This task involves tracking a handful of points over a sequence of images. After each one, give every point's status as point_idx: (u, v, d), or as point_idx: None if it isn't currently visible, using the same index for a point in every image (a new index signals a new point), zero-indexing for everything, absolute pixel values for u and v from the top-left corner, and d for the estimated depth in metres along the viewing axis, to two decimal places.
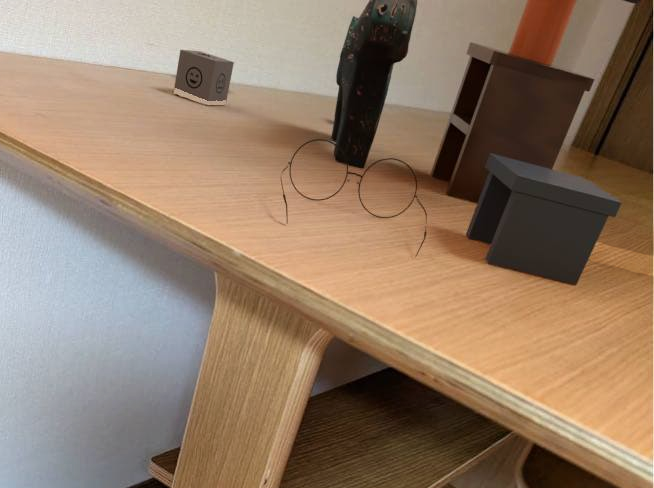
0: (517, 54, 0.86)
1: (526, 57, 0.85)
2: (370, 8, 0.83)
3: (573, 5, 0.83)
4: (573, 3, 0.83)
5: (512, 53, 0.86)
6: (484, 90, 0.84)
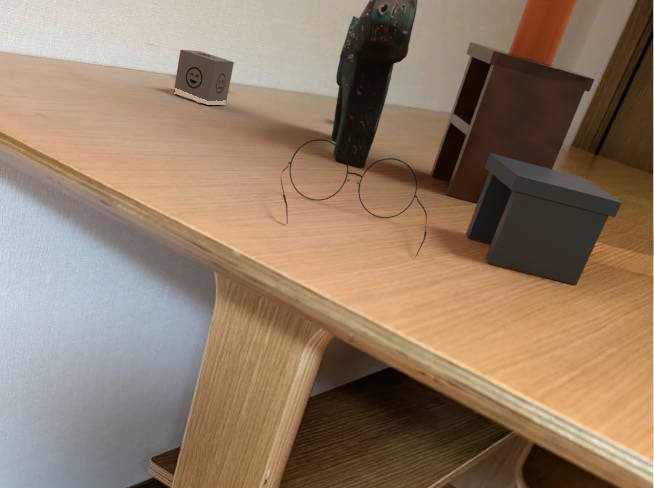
0: (517, 54, 0.86)
1: (526, 57, 0.85)
2: (370, 8, 0.83)
3: (573, 5, 0.83)
4: (573, 3, 0.83)
5: (512, 53, 0.86)
6: (484, 90, 0.84)
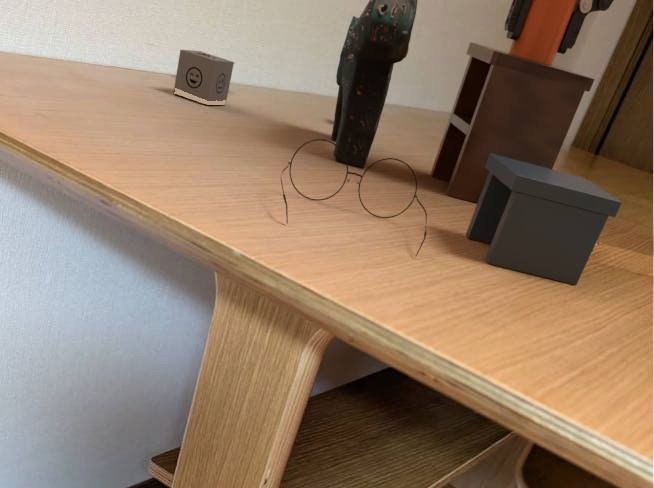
0: (517, 54, 0.86)
1: (526, 57, 0.85)
2: (370, 8, 0.83)
3: (573, 5, 0.83)
4: (573, 3, 0.83)
5: (512, 53, 0.86)
6: (484, 90, 0.84)
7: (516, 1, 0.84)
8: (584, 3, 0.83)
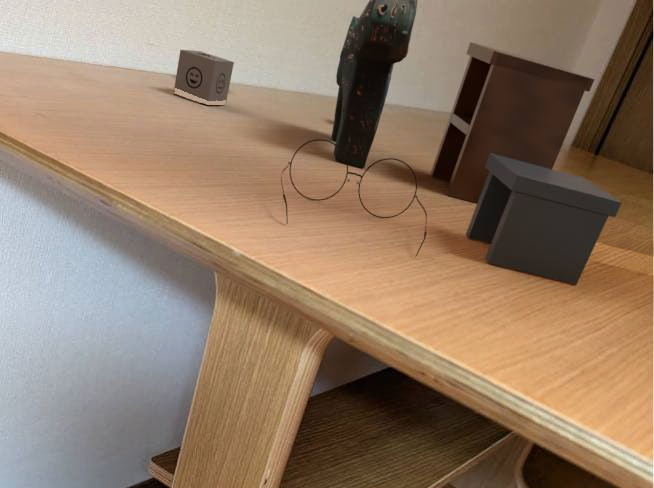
0: None
1: None
2: (370, 8, 0.83)
3: None
4: None
5: None
6: (484, 90, 0.84)
7: None
8: None
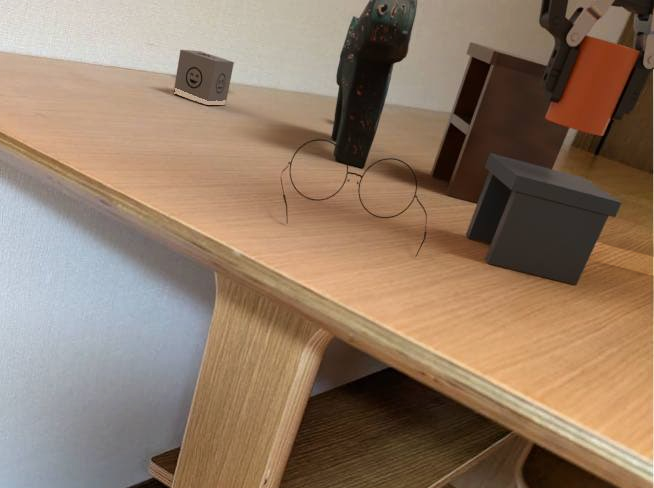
0: (558, 121, 0.64)
1: (570, 126, 0.64)
2: (370, 8, 0.83)
3: (635, 59, 0.62)
4: (635, 56, 0.62)
5: (551, 119, 0.65)
6: (484, 90, 0.84)
7: (558, 52, 0.63)
8: (649, 56, 0.62)
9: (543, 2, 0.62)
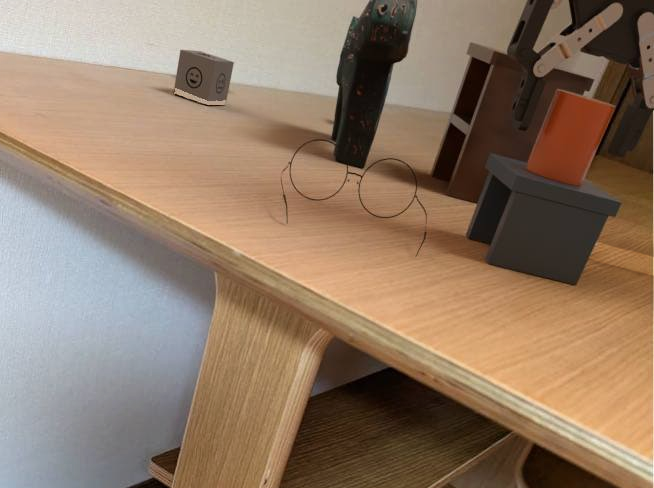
0: (537, 172, 0.67)
1: (549, 177, 0.66)
2: (370, 8, 0.83)
3: (611, 114, 0.64)
4: (611, 111, 0.64)
5: (531, 170, 0.67)
6: (484, 90, 0.84)
7: (525, 83, 0.64)
8: (651, 96, 0.64)
9: (515, 32, 0.63)
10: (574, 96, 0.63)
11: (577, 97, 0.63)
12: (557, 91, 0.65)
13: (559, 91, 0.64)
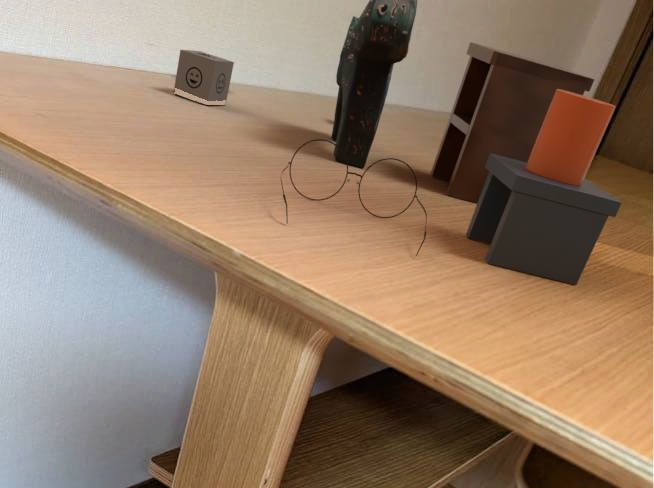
0: (537, 172, 0.67)
1: (549, 177, 0.66)
2: (370, 8, 0.83)
3: (611, 113, 0.64)
4: (611, 111, 0.64)
5: (531, 170, 0.67)
6: (484, 90, 0.84)
7: None
8: None
9: None
10: (574, 96, 0.63)
11: (577, 97, 0.63)
12: (557, 91, 0.65)
13: (559, 91, 0.64)
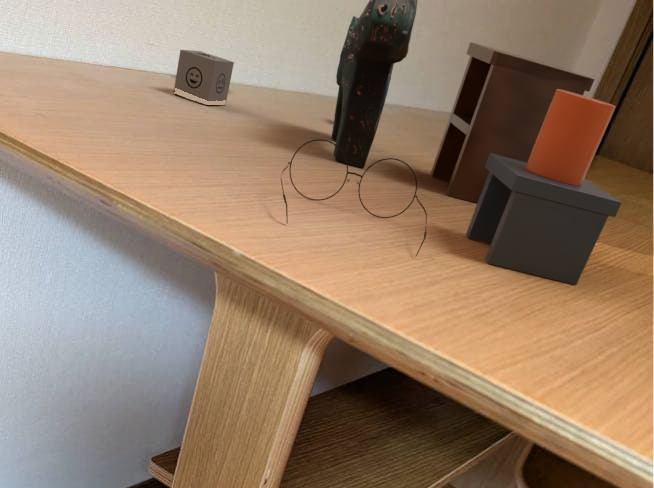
0: (537, 172, 0.67)
1: (549, 177, 0.66)
2: (370, 8, 0.83)
3: (611, 113, 0.64)
4: (611, 111, 0.64)
5: (531, 170, 0.67)
6: (484, 90, 0.84)
7: None
8: None
9: None
10: (574, 96, 0.63)
11: (577, 97, 0.63)
12: (557, 91, 0.65)
13: (559, 91, 0.64)
